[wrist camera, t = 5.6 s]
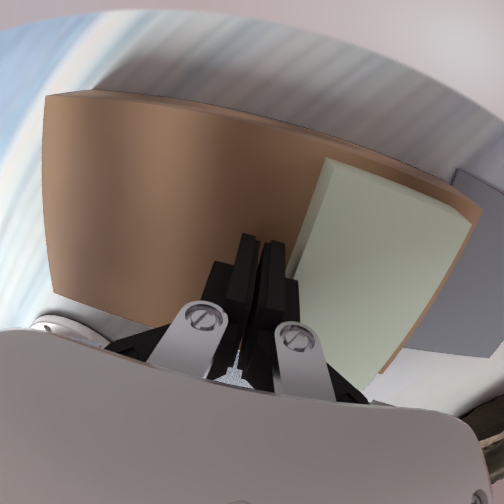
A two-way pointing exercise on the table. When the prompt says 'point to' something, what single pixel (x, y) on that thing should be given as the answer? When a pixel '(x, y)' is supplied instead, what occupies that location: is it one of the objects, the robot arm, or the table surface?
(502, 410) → the stone bowl
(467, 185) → the mat
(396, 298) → the pale green prism
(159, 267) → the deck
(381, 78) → the table surface
